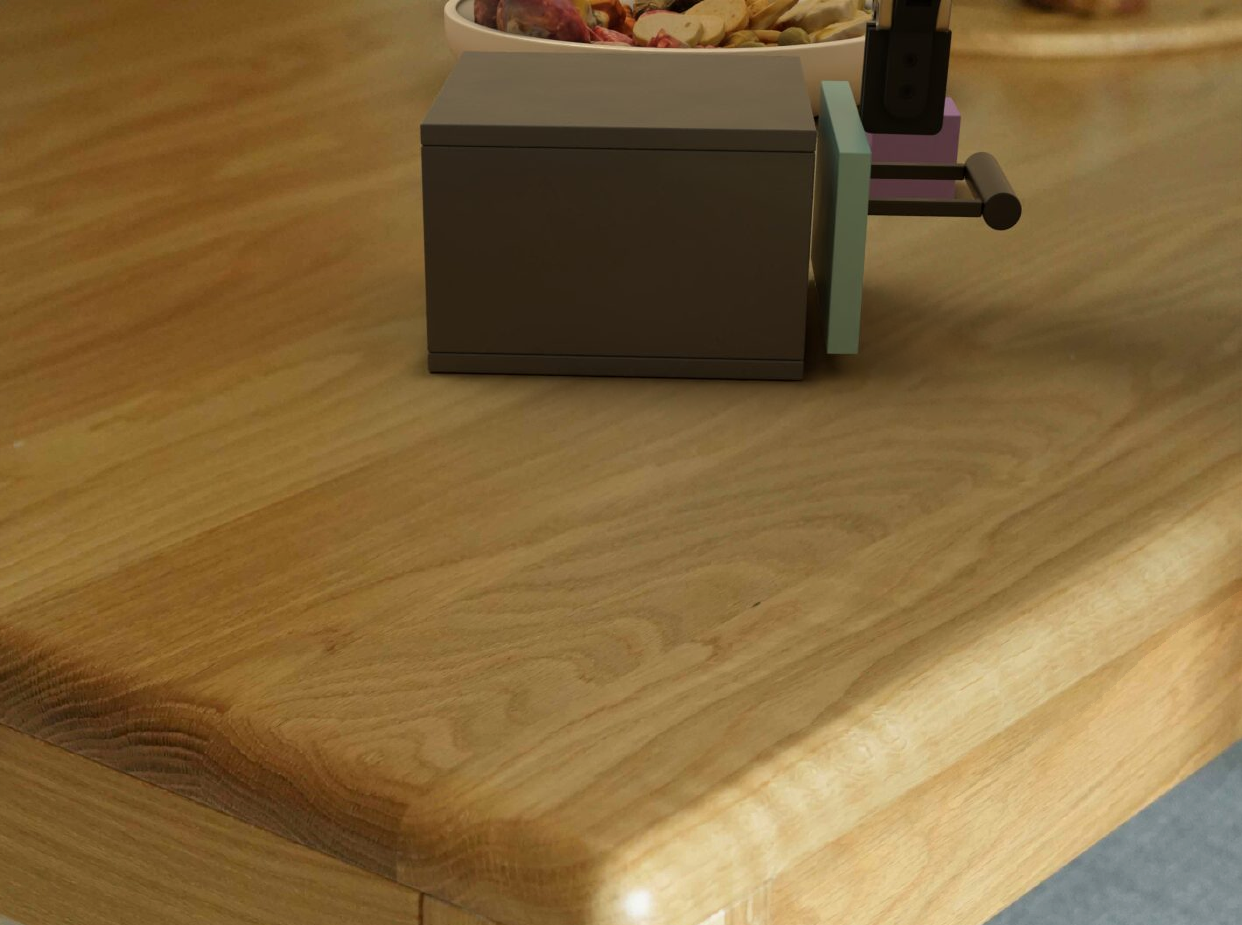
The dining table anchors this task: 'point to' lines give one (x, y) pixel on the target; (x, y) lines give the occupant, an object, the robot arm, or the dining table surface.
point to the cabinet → (618, 215)
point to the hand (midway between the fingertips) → (899, 128)
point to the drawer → (878, 207)
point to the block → (917, 158)
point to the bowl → (674, 31)
